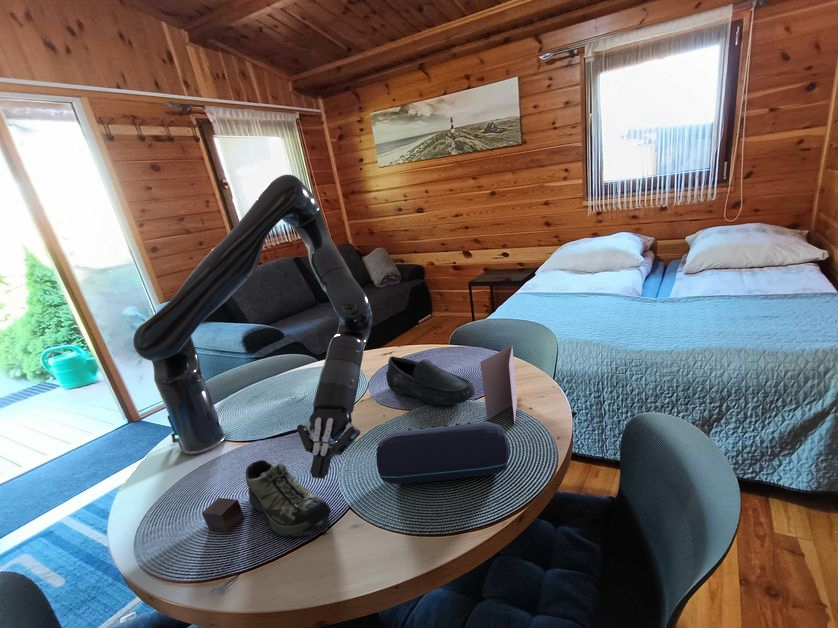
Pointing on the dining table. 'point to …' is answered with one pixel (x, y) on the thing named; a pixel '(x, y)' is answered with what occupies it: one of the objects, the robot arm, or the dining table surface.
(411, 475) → the portable speaker
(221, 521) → the block
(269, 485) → the hiking shoe
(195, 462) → the dining table surface
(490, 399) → the greeting card
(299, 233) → the robot arm
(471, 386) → the loafer
